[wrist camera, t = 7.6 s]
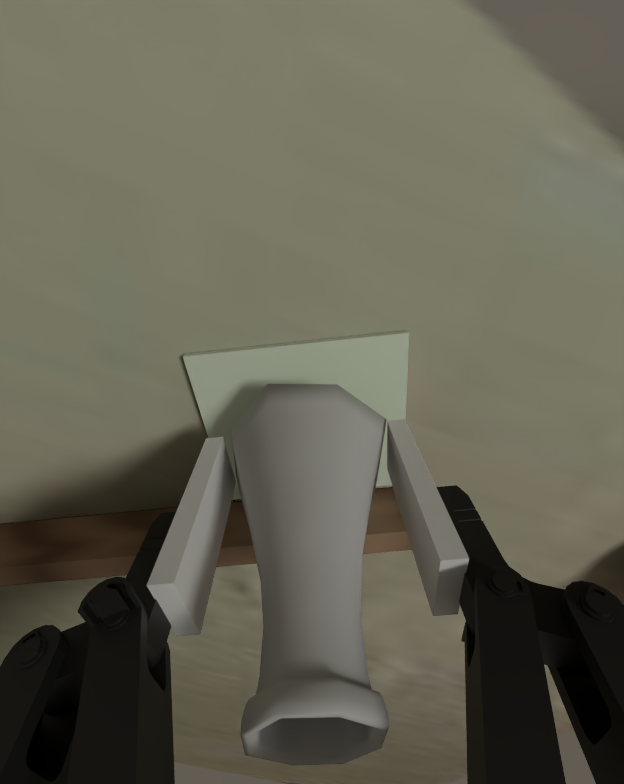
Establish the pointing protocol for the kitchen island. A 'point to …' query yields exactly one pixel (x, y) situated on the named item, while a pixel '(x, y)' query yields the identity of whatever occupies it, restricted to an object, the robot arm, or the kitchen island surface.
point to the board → (301, 379)
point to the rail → (128, 530)
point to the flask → (310, 571)
